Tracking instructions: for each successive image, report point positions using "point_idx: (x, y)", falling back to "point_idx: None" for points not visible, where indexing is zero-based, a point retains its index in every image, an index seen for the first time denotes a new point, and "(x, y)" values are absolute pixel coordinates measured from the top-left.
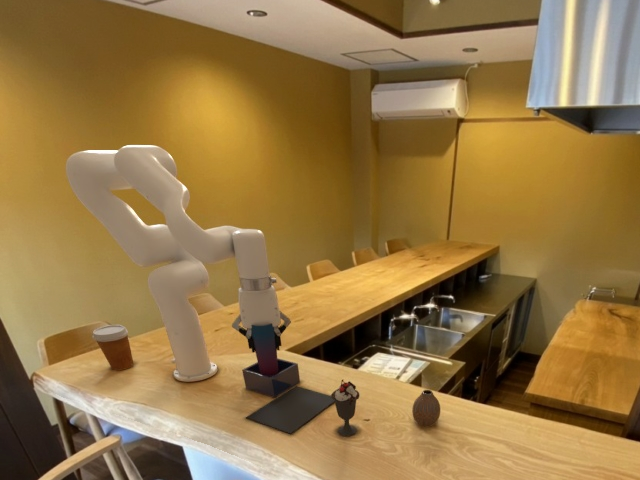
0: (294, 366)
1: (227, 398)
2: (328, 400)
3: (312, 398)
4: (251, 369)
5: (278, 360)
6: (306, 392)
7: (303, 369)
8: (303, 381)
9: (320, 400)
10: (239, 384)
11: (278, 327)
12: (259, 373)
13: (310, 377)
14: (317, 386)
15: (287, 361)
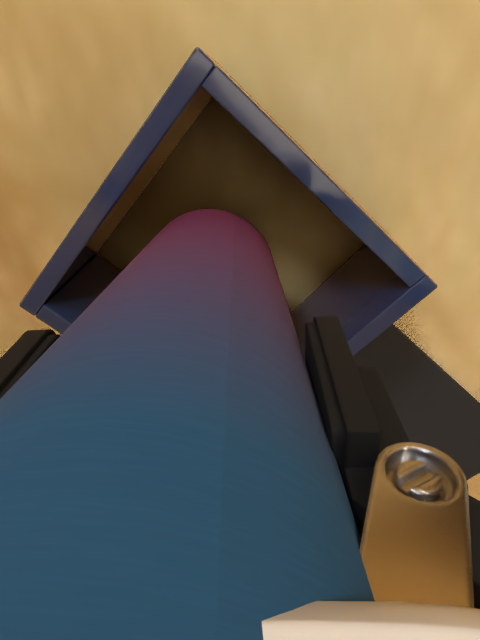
0: (401, 312)
1: (12, 333)
2: (474, 453)
3: (411, 426)
4: (79, 257)
5: (288, 168)
6: (398, 373)
7: (465, 14)
8: (413, 229)
9: (441, 447)
10: (22, 186)
11: (459, 572)
12: (135, 191)
13: (472, 180)
14: (473, 307)
15: (364, 227)
